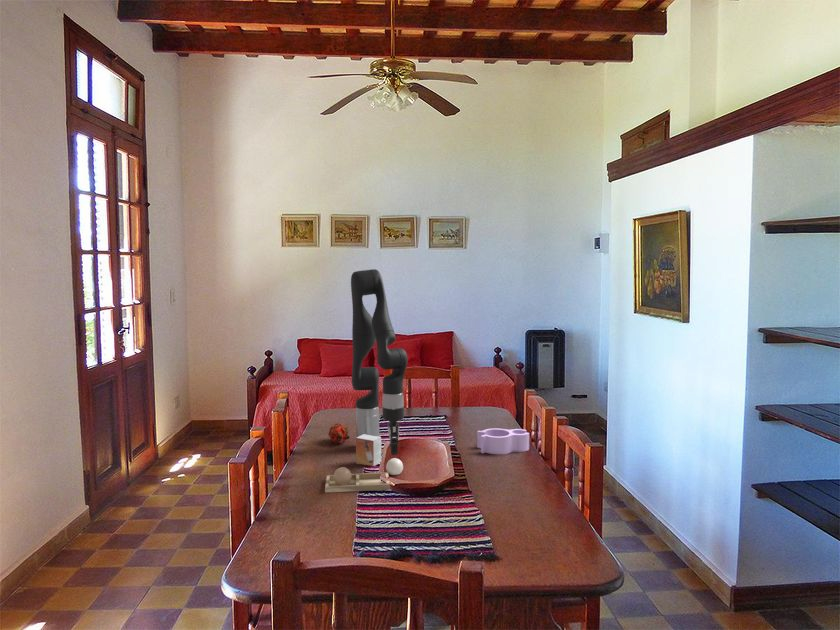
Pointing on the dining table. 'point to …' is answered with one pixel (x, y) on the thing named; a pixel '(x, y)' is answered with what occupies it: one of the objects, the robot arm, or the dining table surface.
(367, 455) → the small box
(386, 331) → the robot arm
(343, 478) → the beige ball
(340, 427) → the dragon fruit
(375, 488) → the beige divided tray
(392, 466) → the white ball
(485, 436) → the lavender double cup holder
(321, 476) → the dining table surface
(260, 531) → the dining table surface
